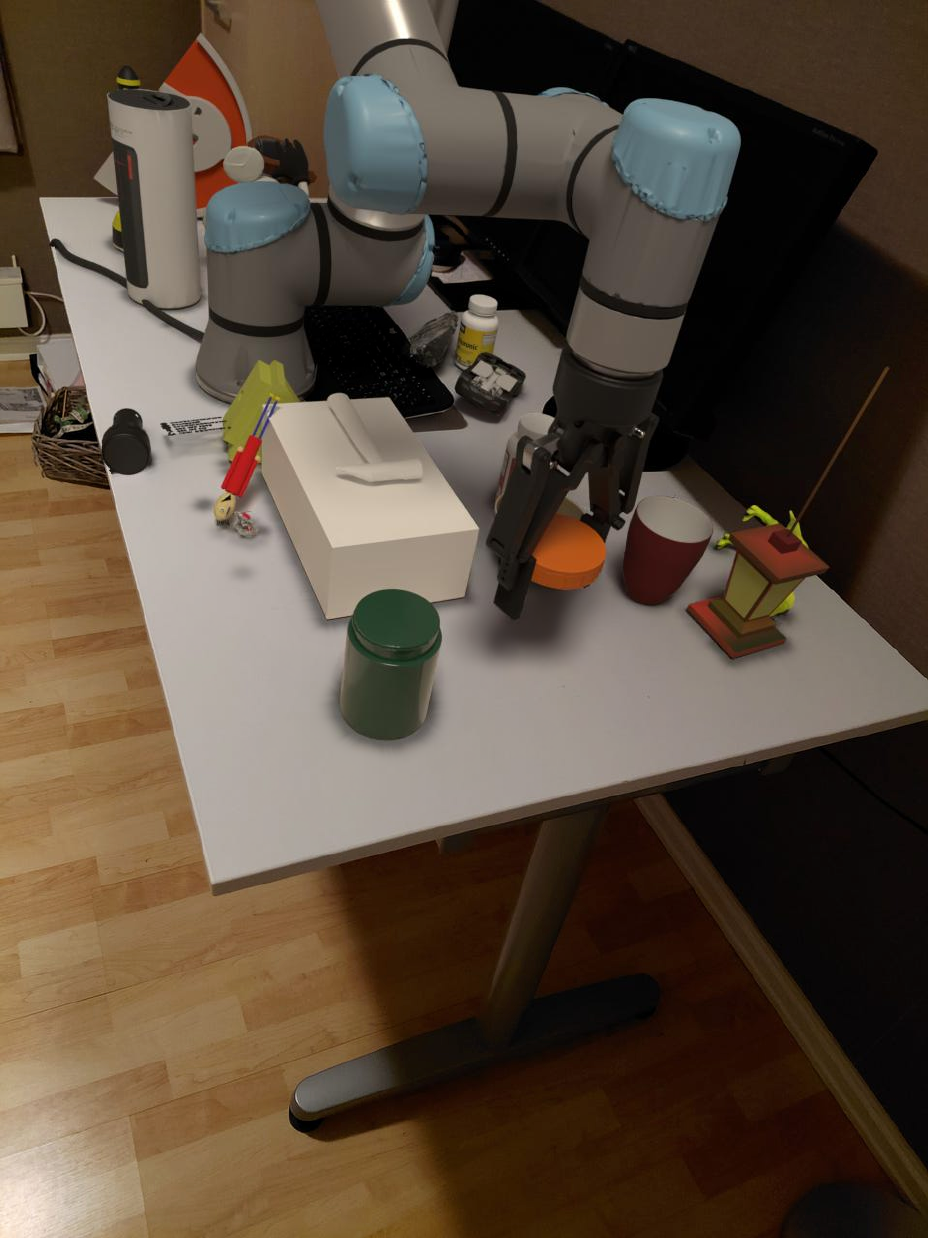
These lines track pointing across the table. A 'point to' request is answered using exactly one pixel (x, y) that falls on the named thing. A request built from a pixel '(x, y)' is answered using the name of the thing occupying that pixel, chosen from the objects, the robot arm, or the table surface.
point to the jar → (389, 663)
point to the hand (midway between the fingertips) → (542, 594)
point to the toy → (250, 164)
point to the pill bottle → (528, 425)
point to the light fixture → (762, 580)
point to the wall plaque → (203, 119)
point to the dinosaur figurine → (767, 520)
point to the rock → (434, 339)
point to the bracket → (255, 404)
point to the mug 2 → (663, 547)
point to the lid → (568, 554)
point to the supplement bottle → (476, 330)
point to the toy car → (490, 383)
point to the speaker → (156, 195)
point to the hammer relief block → (364, 502)
